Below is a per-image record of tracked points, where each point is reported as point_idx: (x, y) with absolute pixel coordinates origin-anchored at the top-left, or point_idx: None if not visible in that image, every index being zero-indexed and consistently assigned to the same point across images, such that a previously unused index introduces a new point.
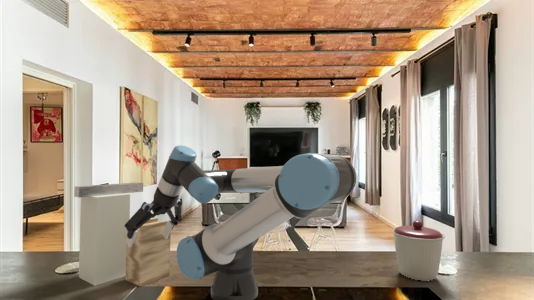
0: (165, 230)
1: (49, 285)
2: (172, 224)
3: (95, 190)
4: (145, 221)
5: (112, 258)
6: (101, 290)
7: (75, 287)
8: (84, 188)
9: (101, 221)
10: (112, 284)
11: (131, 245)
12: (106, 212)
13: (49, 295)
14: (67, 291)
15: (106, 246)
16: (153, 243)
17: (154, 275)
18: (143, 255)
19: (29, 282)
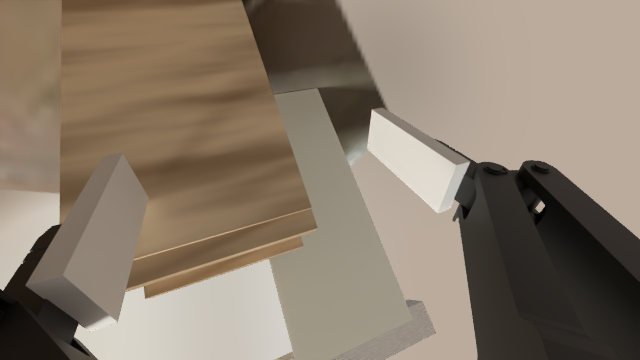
0: (130, 218)
1: (350, 127)
2: (51, 284)
3: (390, 337)
4: (521, 250)
5: (292, 143)
6: (327, 55)
7: (339, 101)
8: (421, 333)
9: (365, 242)
10: (289, 71)
11: (383, 114)
12: (362, 274)
13: (380, 94)
14: (358, 93)
15: (322, 173)
16: (206, 143)
17: (168, 13)
18: (257, 91)
19: (352, 145)
